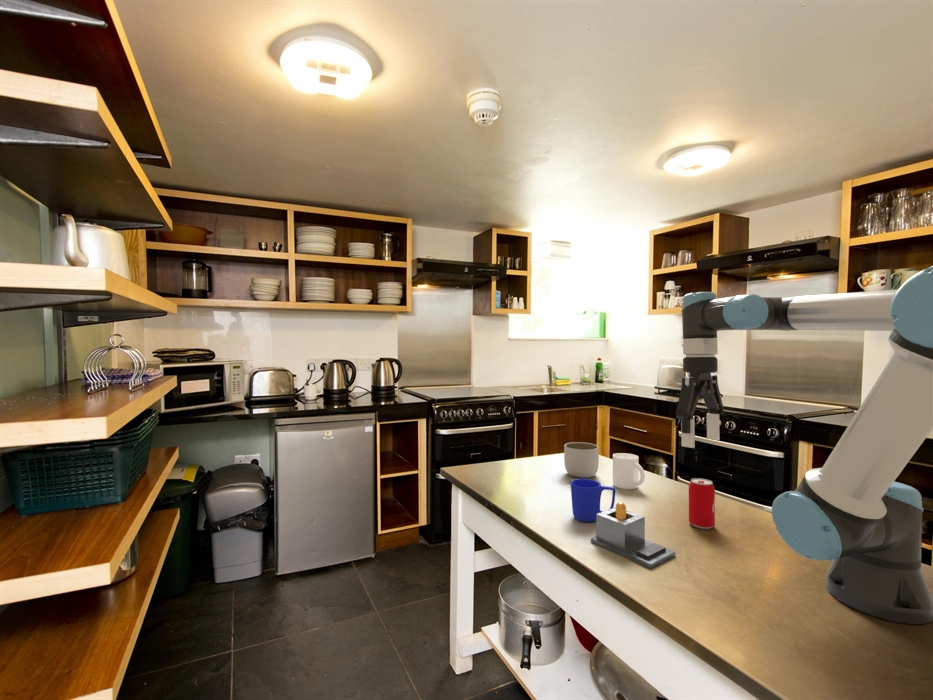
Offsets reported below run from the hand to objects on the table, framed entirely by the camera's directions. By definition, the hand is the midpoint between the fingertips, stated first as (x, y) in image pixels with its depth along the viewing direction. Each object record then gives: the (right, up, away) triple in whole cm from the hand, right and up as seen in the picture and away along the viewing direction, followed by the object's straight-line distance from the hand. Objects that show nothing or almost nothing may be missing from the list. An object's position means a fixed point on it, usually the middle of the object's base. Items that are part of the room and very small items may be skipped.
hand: (701, 443), depth 109 cm
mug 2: (-2, -24, +42) cm, 48 cm away
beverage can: (+6, -25, +11) cm, 27 cm away
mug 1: (-22, -25, +15) cm, 36 cm away
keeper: (-18, -25, -3) cm, 31 cm away
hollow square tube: (-20, -24, 0) cm, 31 cm away
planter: (-15, -24, +56) cm, 63 cm away
